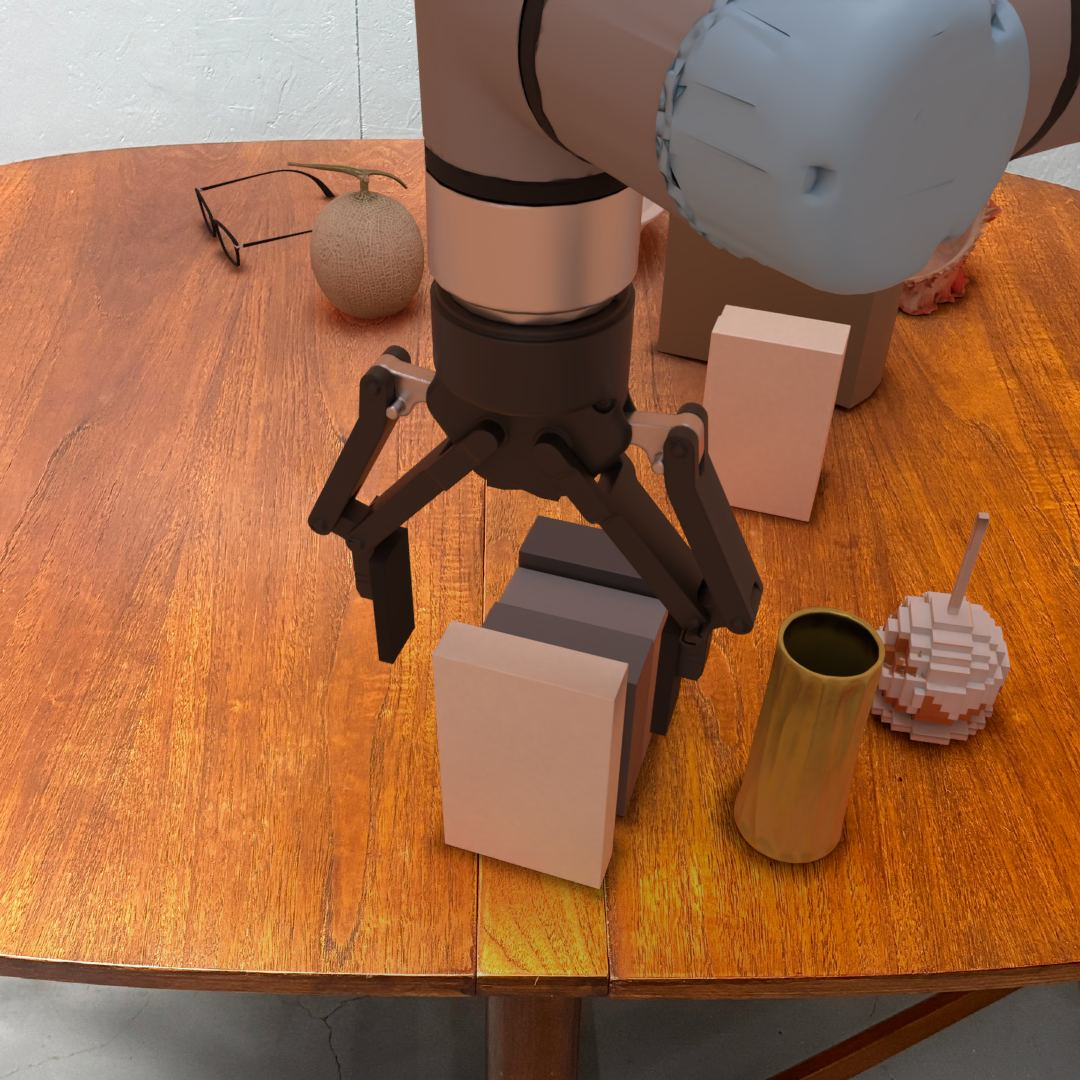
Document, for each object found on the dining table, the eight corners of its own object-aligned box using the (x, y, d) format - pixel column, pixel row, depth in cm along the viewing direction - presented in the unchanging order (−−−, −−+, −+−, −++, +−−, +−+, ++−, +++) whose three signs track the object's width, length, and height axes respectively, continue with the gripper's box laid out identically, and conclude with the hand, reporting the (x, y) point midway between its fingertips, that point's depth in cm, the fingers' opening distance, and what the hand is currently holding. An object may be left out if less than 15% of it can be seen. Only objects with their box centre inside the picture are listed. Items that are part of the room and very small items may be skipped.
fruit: (455, 302, 112) (449, 151, 103) (374, 349, 105) (359, 192, 95) (376, 271, 117) (363, 124, 107) (294, 315, 110) (272, 162, 100)
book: (890, 373, 103) (959, 89, 87) (856, 416, 97) (923, 121, 81) (699, 314, 111) (729, 43, 95) (657, 350, 105) (682, 70, 89)
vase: (859, 856, 64) (916, 677, 55) (754, 874, 63) (794, 695, 54) (817, 770, 68) (863, 592, 59) (718, 786, 67) (750, 607, 58)
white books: (808, 522, 86) (843, 354, 77) (691, 498, 88) (711, 331, 79) (820, 475, 91) (854, 311, 82) (708, 453, 93) (729, 291, 84)
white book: (599, 889, 62) (614, 700, 52) (444, 843, 64) (431, 654, 54) (612, 852, 64) (629, 663, 54) (461, 809, 66) (451, 619, 56)
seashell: (875, 244, 127) (782, 276, 119) (892, 145, 121) (795, 171, 113) (1011, 292, 116) (917, 330, 108) (1037, 186, 110) (940, 218, 102)
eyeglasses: (193, 218, 126) (186, 183, 124) (329, 191, 132) (325, 157, 129) (238, 280, 115) (231, 243, 112) (384, 248, 121) (381, 212, 118)
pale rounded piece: (858, 649, 76) (907, 466, 66) (979, 666, 75) (1047, 482, 65) (861, 738, 70) (915, 551, 61) (993, 758, 69) (1069, 570, 60)
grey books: (624, 817, 65) (637, 677, 58) (476, 776, 68) (471, 636, 60) (669, 684, 73) (686, 546, 66) (536, 651, 76) (537, 514, 68)
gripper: (893, 287, 41) (798, 687, 55) (275, 185, 47) (328, 570, 61) (871, 394, 36) (771, 808, 50) (175, 264, 42) (257, 668, 55)
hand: (527, 678), depth 55 cm, fingers open, 13 cm apart
